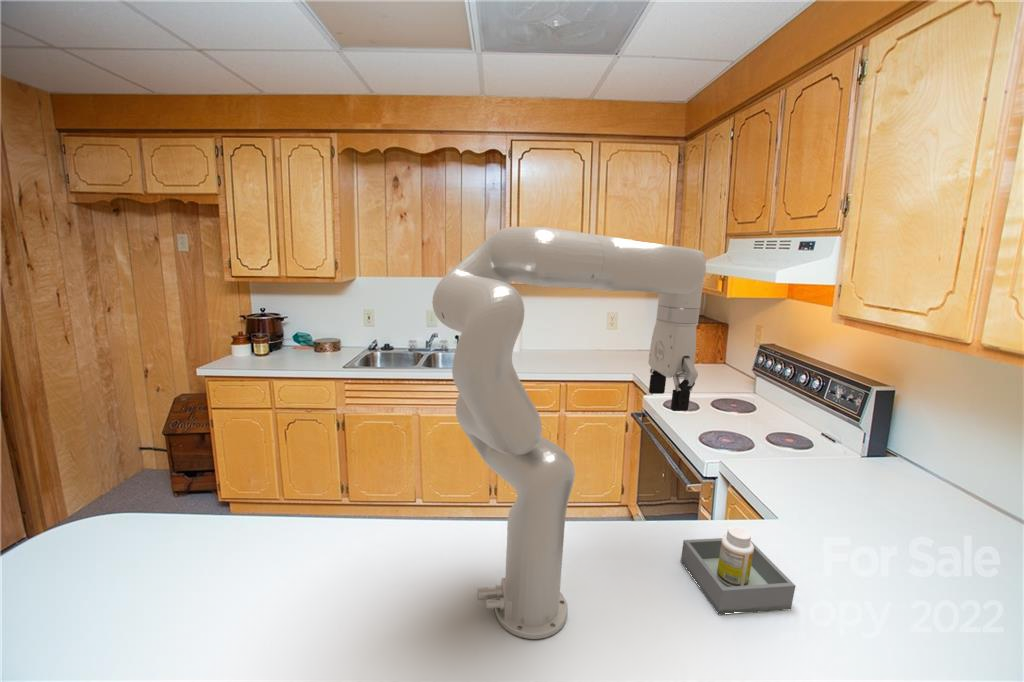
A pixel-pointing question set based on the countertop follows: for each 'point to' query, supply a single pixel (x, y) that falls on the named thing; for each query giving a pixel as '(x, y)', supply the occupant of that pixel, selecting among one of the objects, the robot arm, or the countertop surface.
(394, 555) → the countertop surface
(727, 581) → the supplement bottle
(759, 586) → the tray
